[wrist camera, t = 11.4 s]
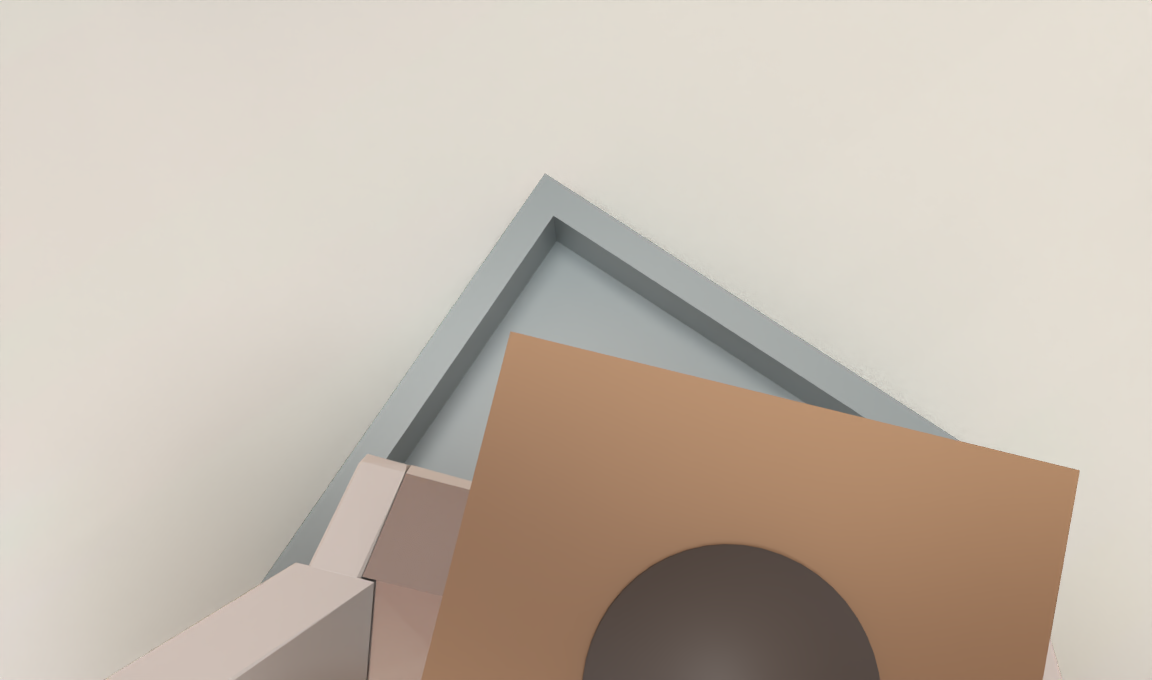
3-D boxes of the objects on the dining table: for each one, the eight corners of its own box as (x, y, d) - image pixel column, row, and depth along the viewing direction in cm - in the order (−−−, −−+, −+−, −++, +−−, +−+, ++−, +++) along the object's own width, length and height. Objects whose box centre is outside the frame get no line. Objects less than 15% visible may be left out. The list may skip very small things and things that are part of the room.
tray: (689, 902, 26) (705, 969, 22) (275, 608, 27) (229, 628, 24) (953, 471, 27) (1006, 471, 24) (549, 210, 28) (545, 173, 25)
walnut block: (752, 757, 15) (975, 1101, 7) (466, 685, 15) (352, 941, 7) (814, 467, 15) (1087, 470, 7) (537, 399, 16) (509, 330, 7)
